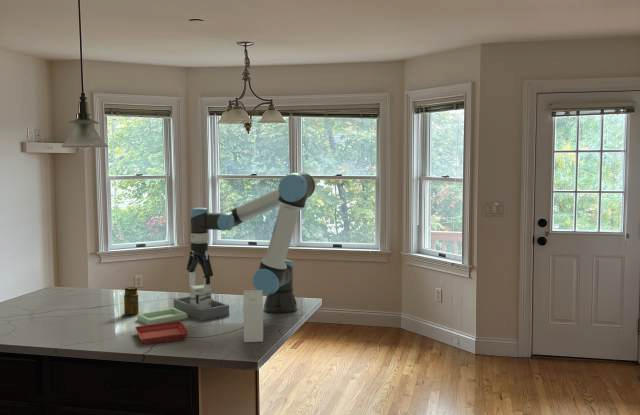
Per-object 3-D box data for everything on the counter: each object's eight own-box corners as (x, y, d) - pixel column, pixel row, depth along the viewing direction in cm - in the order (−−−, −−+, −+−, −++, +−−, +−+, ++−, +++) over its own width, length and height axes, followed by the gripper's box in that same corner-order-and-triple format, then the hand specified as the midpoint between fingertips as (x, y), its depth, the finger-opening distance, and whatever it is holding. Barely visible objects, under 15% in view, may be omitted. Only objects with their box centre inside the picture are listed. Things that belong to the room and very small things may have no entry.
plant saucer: (140, 347, 220) (140, 338, 219) (135, 334, 236) (134, 326, 236) (189, 340, 227) (189, 332, 227) (180, 328, 243) (180, 320, 243)
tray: (187, 319, 257) (187, 313, 256) (150, 326, 246) (150, 320, 246) (174, 313, 266) (173, 307, 266) (137, 320, 256) (137, 314, 255)
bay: (229, 315, 263) (229, 305, 263) (202, 320, 254) (201, 310, 254) (199, 304, 284) (199, 294, 283) (173, 308, 275) (173, 299, 275)
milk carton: (244, 337, 230) (243, 288, 228) (263, 336, 230) (262, 288, 229) (244, 342, 223) (243, 292, 221) (263, 342, 223) (262, 292, 222)
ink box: (194, 314, 265) (193, 288, 264) (190, 312, 269) (189, 286, 268) (211, 311, 269) (211, 285, 268) (207, 309, 273) (207, 284, 272)
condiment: (139, 311, 270) (138, 285, 269) (140, 316, 262) (139, 289, 261) (122, 313, 267) (121, 287, 266) (123, 318, 259) (122, 290, 259)
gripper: (178, 239, 274) (179, 285, 275) (205, 246, 255) (205, 294, 256) (193, 238, 278) (193, 283, 280) (220, 244, 259) (220, 292, 261)
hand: (199, 288), depth 268 cm, fingers open, 13 cm apart
